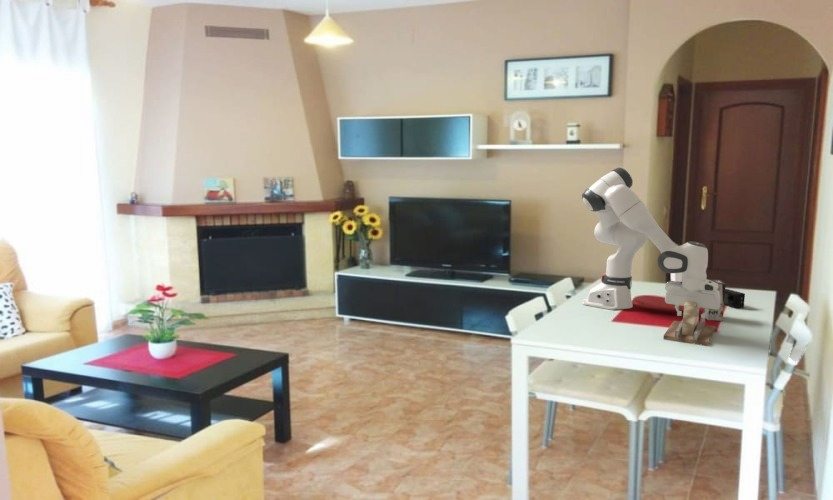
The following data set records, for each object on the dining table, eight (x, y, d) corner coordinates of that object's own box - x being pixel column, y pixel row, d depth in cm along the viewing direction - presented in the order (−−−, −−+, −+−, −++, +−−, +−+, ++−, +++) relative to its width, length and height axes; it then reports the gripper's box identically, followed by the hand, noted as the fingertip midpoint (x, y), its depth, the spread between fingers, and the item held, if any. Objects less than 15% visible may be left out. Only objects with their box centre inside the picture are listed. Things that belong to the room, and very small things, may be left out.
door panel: (681, 334, 259) (684, 304, 256) (687, 325, 270) (689, 297, 268) (692, 336, 257) (695, 305, 255) (697, 327, 269) (700, 298, 266)
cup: (691, 291, 337) (693, 265, 335) (671, 290, 337) (673, 265, 335) (683, 286, 347) (685, 262, 345) (664, 286, 347) (666, 261, 345)
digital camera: (716, 304, 312) (717, 289, 311) (725, 302, 314) (726, 288, 313) (734, 309, 302) (736, 294, 301) (743, 308, 304) (745, 293, 303)
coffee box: (723, 321, 283) (726, 284, 280) (707, 320, 284) (710, 283, 281) (718, 315, 292) (721, 279, 289) (702, 314, 293) (705, 278, 290)
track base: (663, 339, 257) (664, 329, 257) (673, 324, 278) (674, 314, 277) (708, 345, 250) (708, 335, 249) (715, 329, 270) (716, 320, 269)
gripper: (664, 281, 263) (662, 315, 265) (720, 287, 253) (717, 322, 255) (667, 278, 268) (664, 311, 270) (722, 284, 258) (719, 318, 260)
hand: (691, 317), depth 263 cm, fingers open, 7 cm apart
